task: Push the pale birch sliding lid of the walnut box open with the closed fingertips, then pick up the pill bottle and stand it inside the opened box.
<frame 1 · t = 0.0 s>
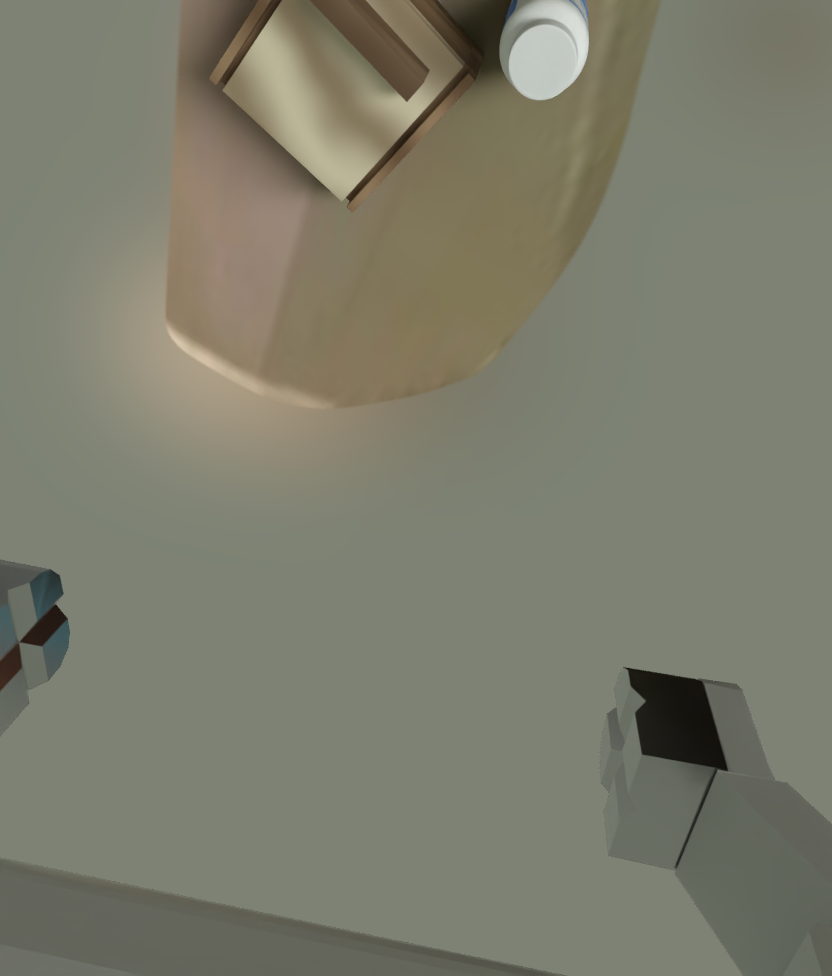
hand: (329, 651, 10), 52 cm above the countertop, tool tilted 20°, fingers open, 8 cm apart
pill bottle: (548, 18, 49), on the countertop
lid box: (356, 54, 52), on the countertop
lid: (335, 83, 48), point 6 cm above the countertop, slide at 0.0 cm
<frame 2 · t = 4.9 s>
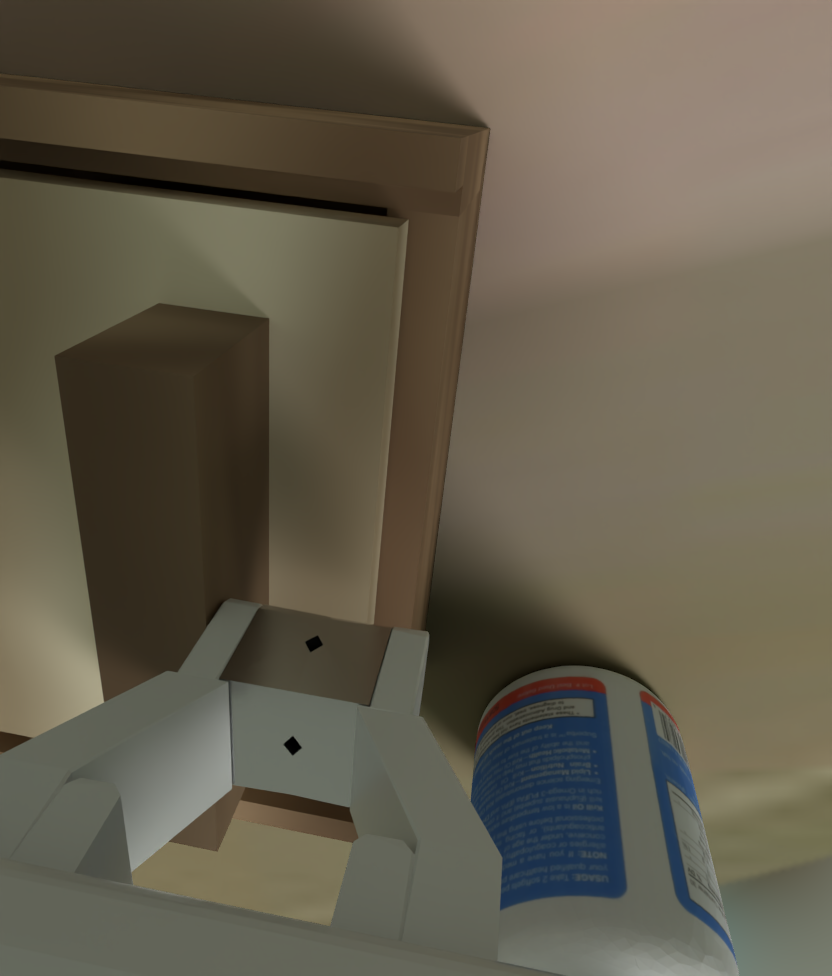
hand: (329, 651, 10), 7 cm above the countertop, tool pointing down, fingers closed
pill bottle: (577, 730, 20), on the countertop
lid box: (174, 405, 17), on the countertop
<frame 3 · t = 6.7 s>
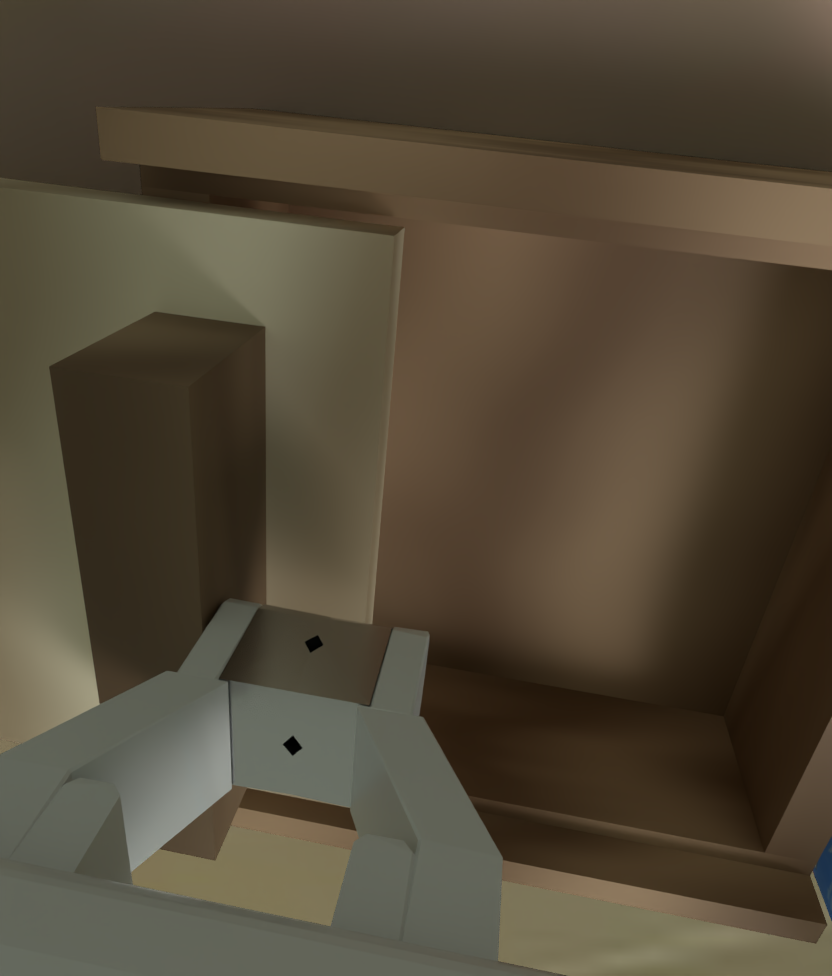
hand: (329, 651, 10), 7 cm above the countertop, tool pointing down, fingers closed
lid box: (535, 465, 16), on the countertop
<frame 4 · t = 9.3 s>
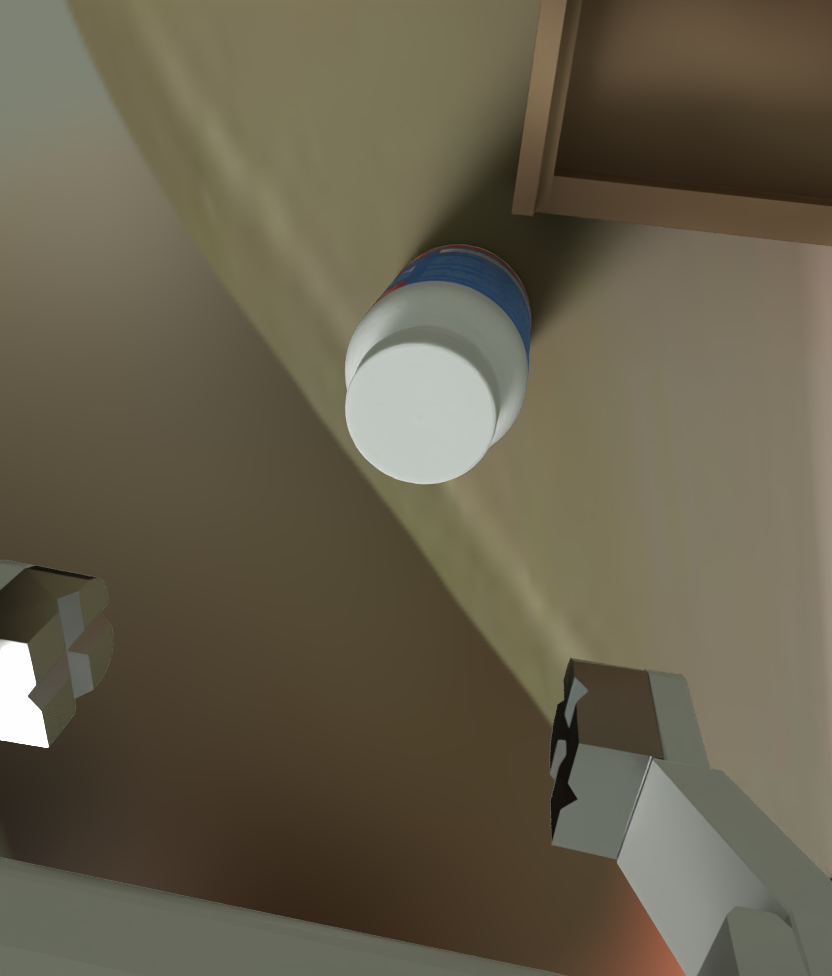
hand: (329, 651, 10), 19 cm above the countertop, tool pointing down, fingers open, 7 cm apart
pill bottle: (458, 316, 27), on the countertop
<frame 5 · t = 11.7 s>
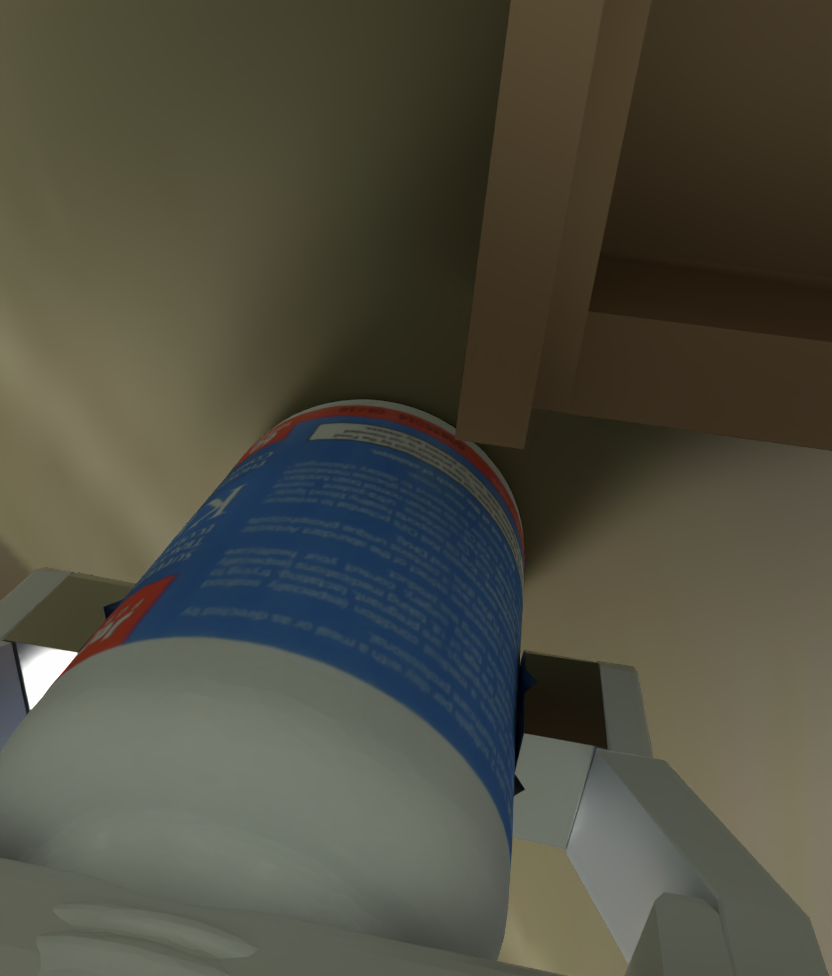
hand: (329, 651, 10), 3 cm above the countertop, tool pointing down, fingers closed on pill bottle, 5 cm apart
pill bottle: (377, 526, 14), on the countertop, touching gripper
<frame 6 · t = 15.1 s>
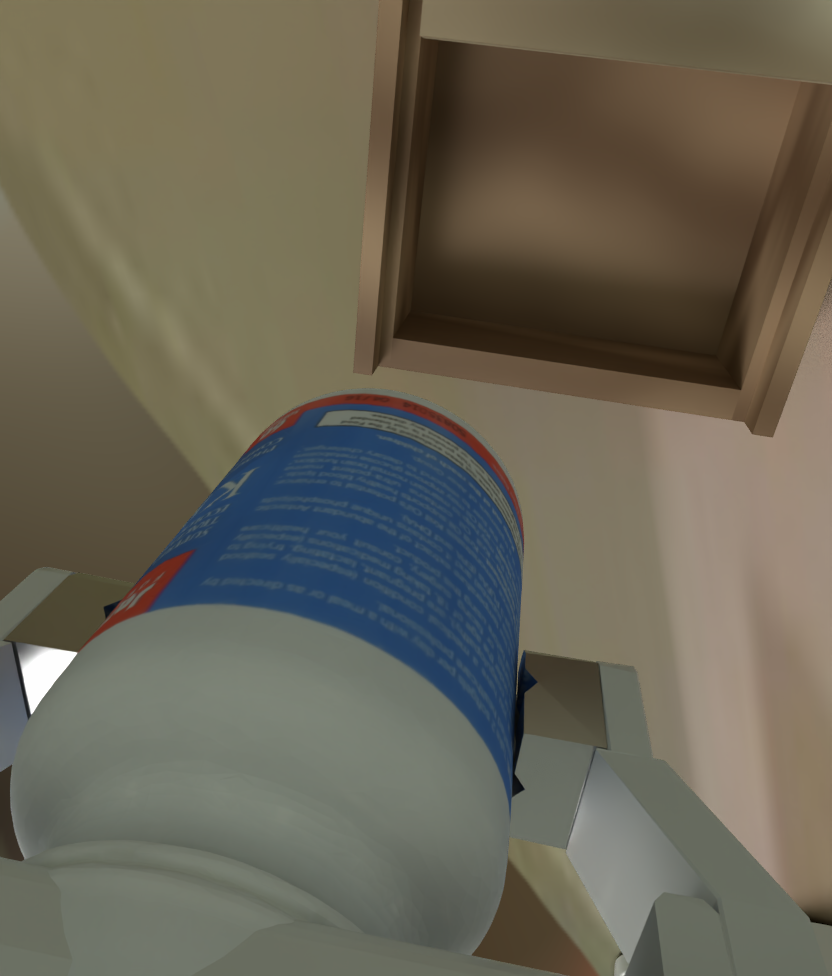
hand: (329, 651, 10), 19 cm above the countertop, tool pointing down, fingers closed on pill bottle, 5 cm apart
pill bottle: (381, 512, 14), point 15 cm above the countertop, touching gripper
lid box: (592, 165, 24), on the countertop
when the fingers open (6 cm above the countertop, at t = 18.6 s): pill bottle stays where it is, resting on lid box.
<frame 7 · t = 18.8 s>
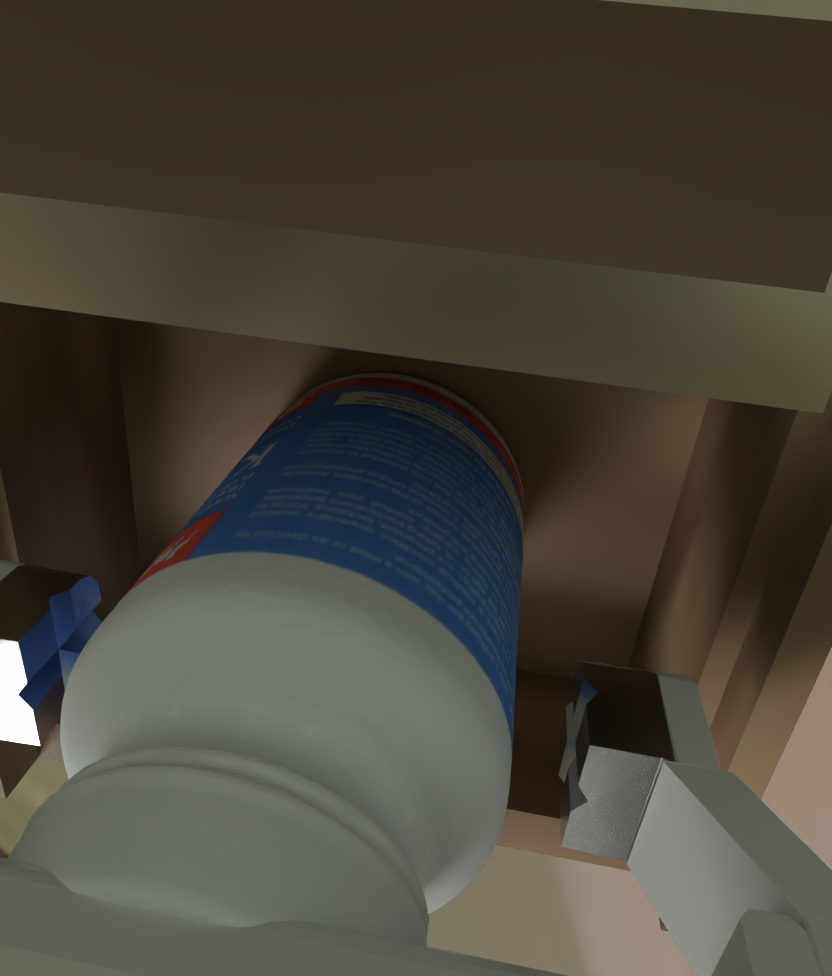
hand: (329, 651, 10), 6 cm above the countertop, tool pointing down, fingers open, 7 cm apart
pill bottle: (390, 492, 15), point 1 cm above the countertop, touching lid box
lid box: (402, 405, 15), on the countertop
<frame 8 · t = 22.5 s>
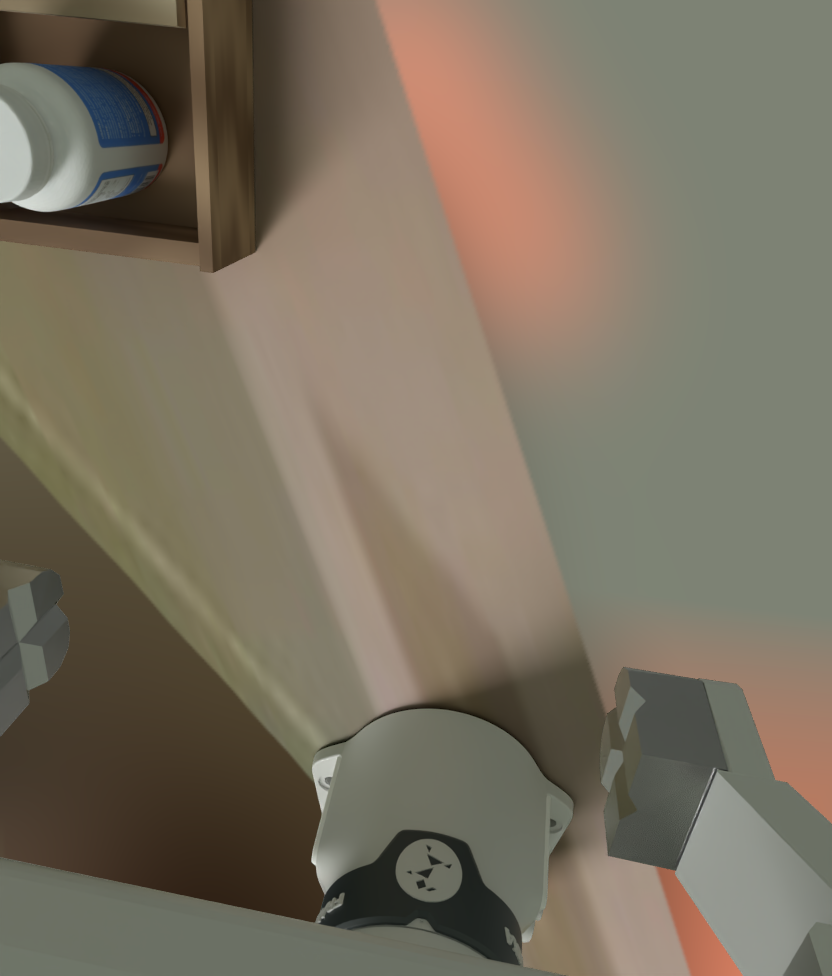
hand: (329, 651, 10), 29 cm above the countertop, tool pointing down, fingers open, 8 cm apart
pill bottle: (119, 134, 35), point 1 cm above the countertop, touching lid box
lid box: (122, 95, 35), on the countertop
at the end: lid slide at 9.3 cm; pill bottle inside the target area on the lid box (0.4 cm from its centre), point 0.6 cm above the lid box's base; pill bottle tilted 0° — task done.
